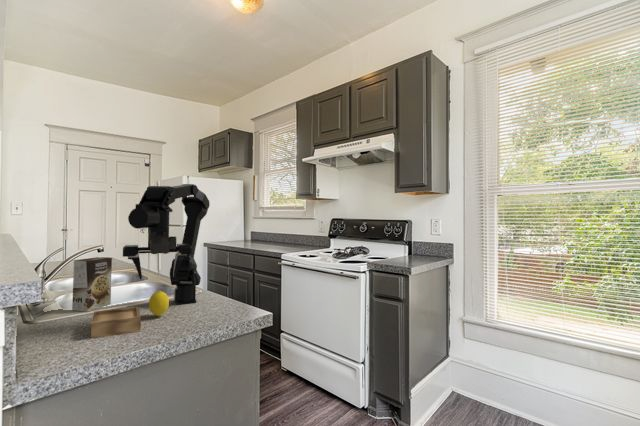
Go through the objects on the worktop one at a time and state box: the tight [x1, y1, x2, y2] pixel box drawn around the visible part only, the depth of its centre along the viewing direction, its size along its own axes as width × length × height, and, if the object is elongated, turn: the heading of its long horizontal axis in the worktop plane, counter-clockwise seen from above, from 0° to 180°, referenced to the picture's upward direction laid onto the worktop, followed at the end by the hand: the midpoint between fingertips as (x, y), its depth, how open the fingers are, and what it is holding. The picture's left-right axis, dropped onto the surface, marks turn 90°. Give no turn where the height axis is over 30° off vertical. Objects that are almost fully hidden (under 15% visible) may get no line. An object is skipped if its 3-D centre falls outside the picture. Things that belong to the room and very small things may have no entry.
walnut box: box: [90, 306, 142, 339], centre depth 92 cm, size 11×11×4 cm
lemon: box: [148, 290, 170, 317], centre depth 102 cm, size 6×6×8 cm
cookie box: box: [71, 256, 113, 313], centre depth 110 cm, size 9×6×16 cm
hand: (157, 278), depth 102 cm, fingers open, 9 cm apart
